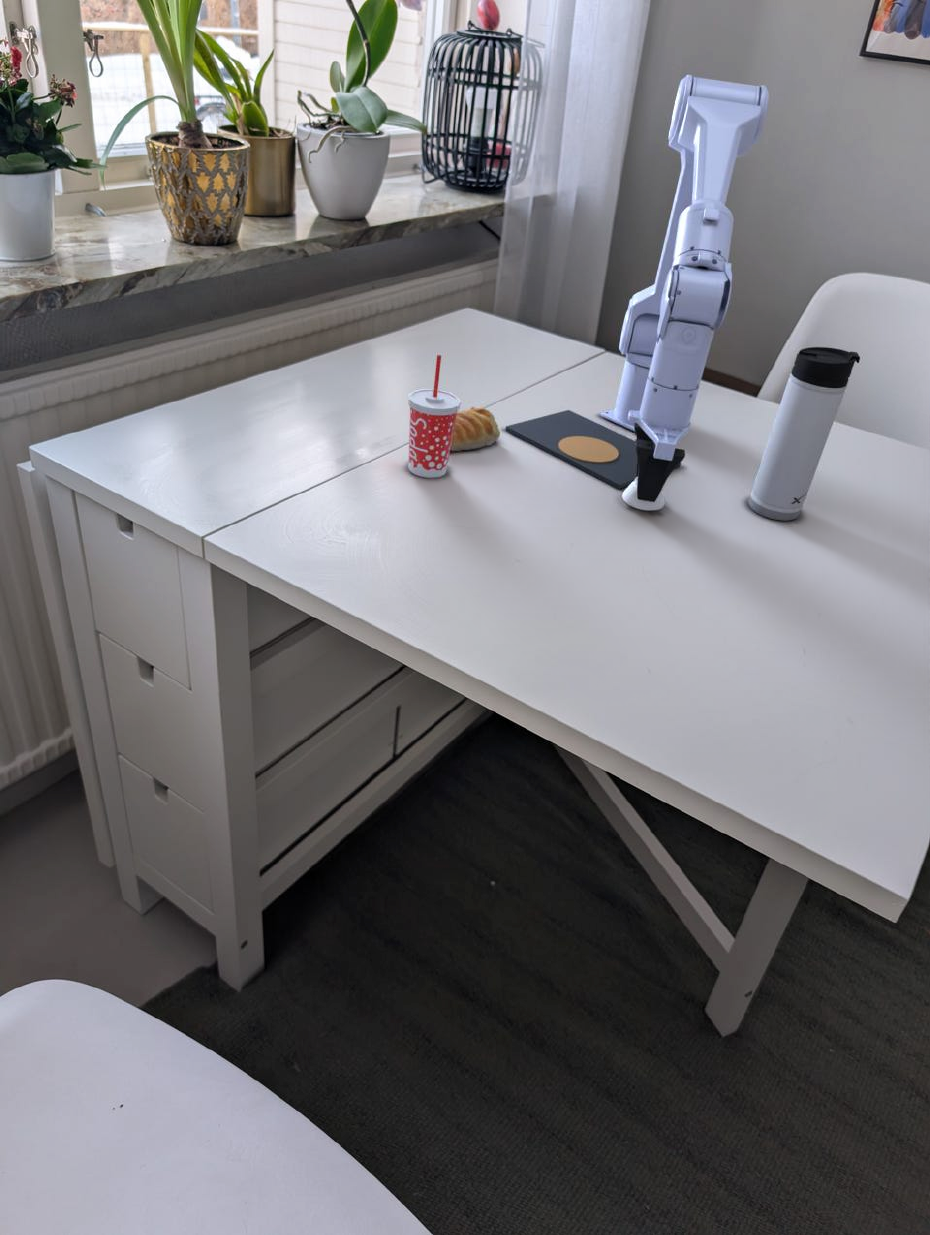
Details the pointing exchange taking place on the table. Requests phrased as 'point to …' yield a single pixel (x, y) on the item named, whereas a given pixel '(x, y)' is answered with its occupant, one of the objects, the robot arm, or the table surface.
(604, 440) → the mat
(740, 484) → the table surface
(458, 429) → the pastry
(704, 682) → the table surface
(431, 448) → the beverage cup
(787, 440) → the travel mug
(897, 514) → the table surface
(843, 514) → the table surface
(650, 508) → the lidless jar
